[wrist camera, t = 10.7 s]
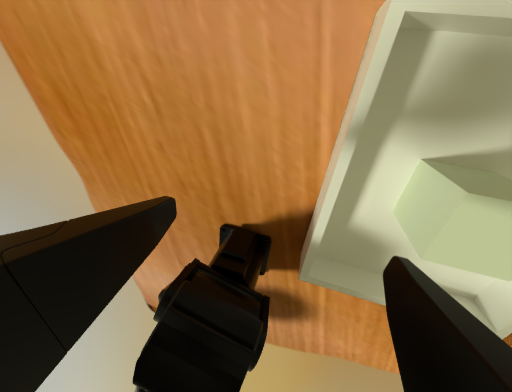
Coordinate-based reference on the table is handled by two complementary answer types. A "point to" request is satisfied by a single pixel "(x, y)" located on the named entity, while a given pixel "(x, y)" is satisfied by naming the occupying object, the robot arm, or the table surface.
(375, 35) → the bin
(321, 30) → the table surface
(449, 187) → the sage block
